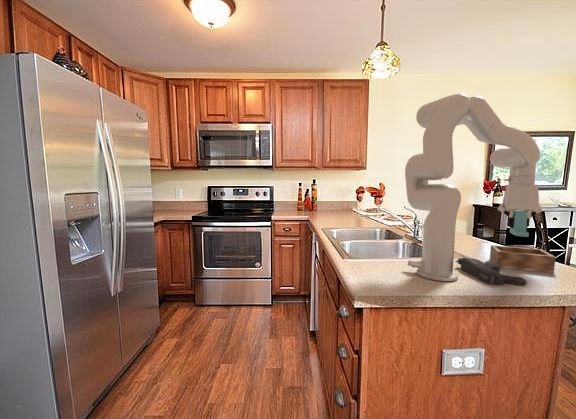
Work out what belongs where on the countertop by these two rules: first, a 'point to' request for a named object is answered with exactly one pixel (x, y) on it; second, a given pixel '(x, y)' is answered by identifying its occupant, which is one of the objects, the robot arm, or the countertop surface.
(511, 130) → the robot arm
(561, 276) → the countertop surface
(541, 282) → the countertop surface
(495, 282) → the toy gun
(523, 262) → the open wooden box
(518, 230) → the teal upright block
